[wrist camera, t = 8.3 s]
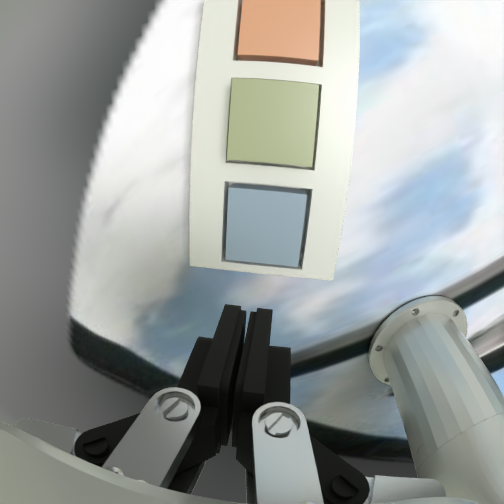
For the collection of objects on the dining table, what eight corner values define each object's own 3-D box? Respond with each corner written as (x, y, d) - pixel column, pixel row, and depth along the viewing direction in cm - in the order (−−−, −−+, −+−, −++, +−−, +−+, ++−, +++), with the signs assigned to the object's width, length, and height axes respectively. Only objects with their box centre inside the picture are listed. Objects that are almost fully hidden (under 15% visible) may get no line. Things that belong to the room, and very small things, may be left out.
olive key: (309, 164, 22) (312, 167, 20) (232, 157, 22) (226, 159, 20) (315, 89, 20) (319, 84, 17) (236, 83, 20) (232, 78, 18)
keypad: (328, 265, 27) (332, 280, 24) (198, 252, 28) (189, 265, 25) (351, 8, 18) (359, -5, 16) (214, -1, 19) (206, -15, 16)
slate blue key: (296, 256, 26) (297, 266, 24) (229, 249, 26) (225, 259, 24) (304, 189, 24) (307, 194, 22) (233, 183, 24) (228, 187, 22)
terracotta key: (315, 67, 20) (318, 60, 18) (241, 61, 20) (237, 54, 18) (317, 7, 18) (320, -3, 16) (246, 2, 18) (243, -9, 16)
